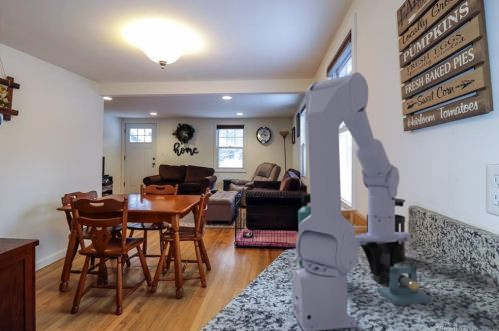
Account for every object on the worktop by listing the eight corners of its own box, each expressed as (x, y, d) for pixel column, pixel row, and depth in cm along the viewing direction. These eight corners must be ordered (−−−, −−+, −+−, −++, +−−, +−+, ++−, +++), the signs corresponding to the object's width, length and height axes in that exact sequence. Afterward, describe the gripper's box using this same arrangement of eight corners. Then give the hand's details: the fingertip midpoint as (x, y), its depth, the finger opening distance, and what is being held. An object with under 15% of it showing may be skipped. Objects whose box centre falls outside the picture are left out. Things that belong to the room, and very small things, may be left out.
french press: (415, 258, 86) (414, 178, 85) (397, 265, 80) (397, 180, 80) (377, 248, 95) (377, 177, 95) (359, 254, 90) (358, 178, 90)
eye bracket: (431, 301, 60) (431, 270, 59) (394, 304, 58) (394, 273, 58) (411, 289, 66) (411, 261, 65) (377, 291, 64) (377, 263, 64)
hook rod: (422, 304, 58) (422, 270, 58) (410, 305, 58) (410, 271, 58) (383, 278, 71) (383, 250, 71) (373, 278, 71) (373, 251, 71)
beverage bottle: (325, 277, 72) (324, 195, 72) (297, 275, 74) (296, 194, 74) (323, 268, 79) (323, 192, 79) (298, 266, 80) (297, 192, 80)
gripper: (363, 220, 64) (364, 283, 64) (421, 217, 67) (421, 277, 67) (346, 215, 71) (346, 272, 71) (398, 212, 74) (398, 266, 74)
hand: (381, 273), depth 70 cm, fingers closed on hook rod, 3 cm apart
